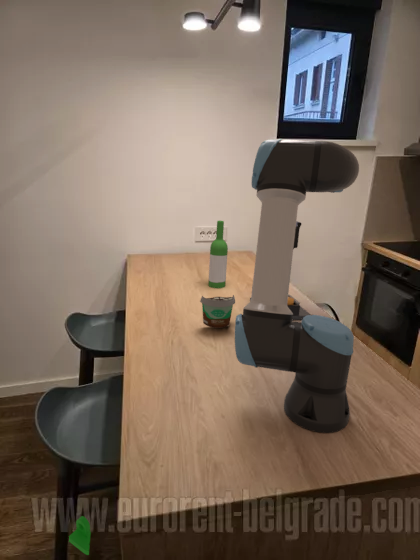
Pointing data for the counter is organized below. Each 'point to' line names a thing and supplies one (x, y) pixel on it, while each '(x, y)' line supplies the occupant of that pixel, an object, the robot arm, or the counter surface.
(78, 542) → the mechanical part
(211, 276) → the wine bottle
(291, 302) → the button
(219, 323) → the food container
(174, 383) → the counter surface
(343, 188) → the robot arm
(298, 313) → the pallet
